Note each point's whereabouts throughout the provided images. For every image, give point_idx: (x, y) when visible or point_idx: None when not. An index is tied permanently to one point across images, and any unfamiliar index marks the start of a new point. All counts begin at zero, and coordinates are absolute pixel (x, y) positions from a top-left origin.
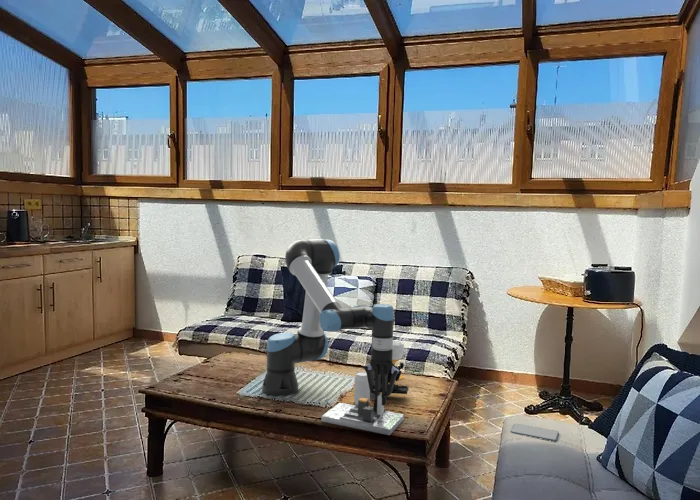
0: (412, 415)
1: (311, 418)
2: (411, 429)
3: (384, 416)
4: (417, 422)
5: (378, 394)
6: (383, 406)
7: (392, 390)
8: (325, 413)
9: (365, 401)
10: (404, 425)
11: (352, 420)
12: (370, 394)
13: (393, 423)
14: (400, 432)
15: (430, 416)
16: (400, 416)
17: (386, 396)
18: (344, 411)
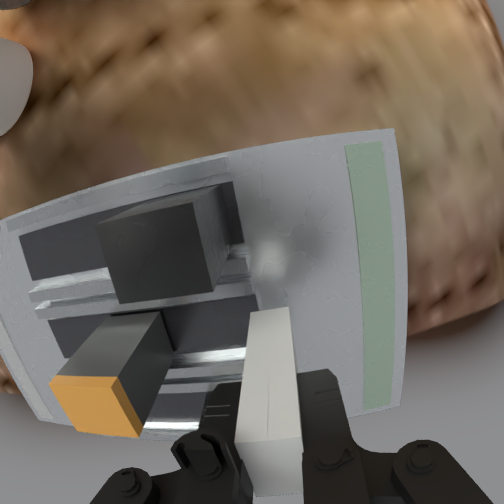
0: (383, 26)
1: (14, 393)
2: (470, 251)
3: (282, 266)
4: (464, 126)
5: (250, 496)
6: (293, 347)
7: (468, 476)
8: (23, 394)
9: (136, 433)
10: (421, 221)
11: (167, 436)
12: (3, 2)
13: (394, 333)
14: (430, 325)
15: (466, 4)
16: (392, 186)
17: (352, 441)
18: (39, 337)
